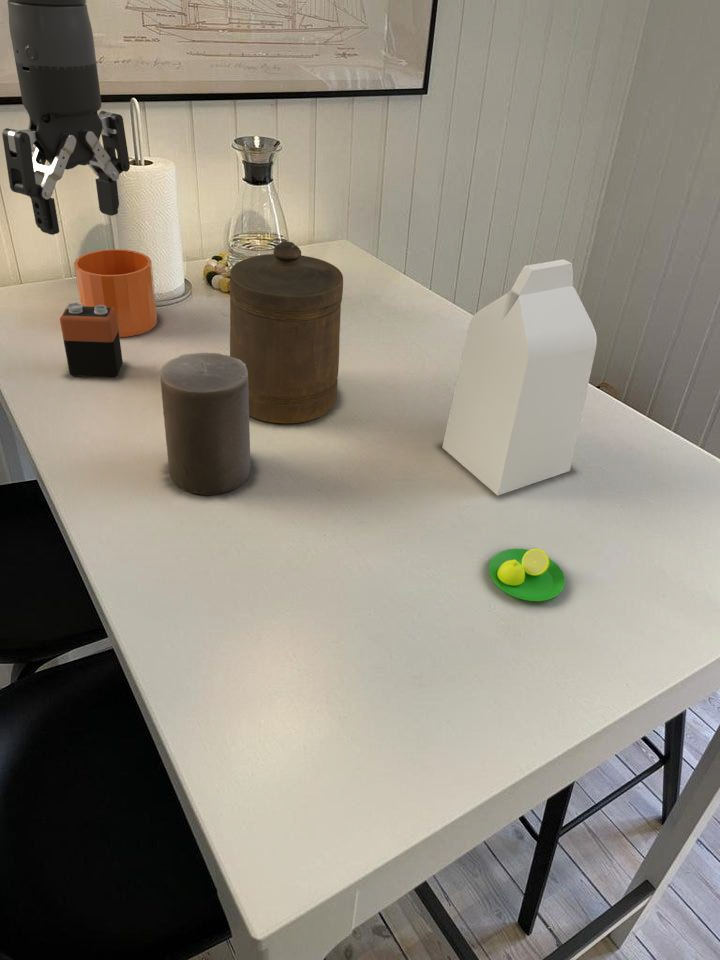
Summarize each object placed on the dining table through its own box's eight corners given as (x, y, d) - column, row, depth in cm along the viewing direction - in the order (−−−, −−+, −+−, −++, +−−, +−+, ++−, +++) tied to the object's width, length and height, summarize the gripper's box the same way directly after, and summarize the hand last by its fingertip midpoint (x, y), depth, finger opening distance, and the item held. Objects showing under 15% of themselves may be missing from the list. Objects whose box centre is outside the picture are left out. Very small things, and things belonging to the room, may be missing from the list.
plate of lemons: (519, 543, 84) (524, 523, 83) (578, 582, 80) (585, 563, 78) (472, 573, 80) (476, 553, 78) (532, 617, 75) (538, 597, 74)
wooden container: (354, 389, 110) (365, 240, 97) (302, 436, 99) (307, 274, 86) (268, 362, 115) (268, 217, 102) (210, 404, 104) (201, 246, 91)
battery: (76, 362, 111) (65, 298, 105) (123, 364, 111) (115, 300, 105) (69, 377, 107) (57, 311, 101) (117, 378, 108) (108, 313, 102)
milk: (497, 495, 91) (542, 291, 76) (442, 447, 99) (473, 253, 84) (569, 470, 97) (626, 275, 81) (512, 427, 104) (553, 241, 89)
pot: (68, 324, 120) (57, 263, 115) (120, 301, 129) (112, 244, 123) (121, 344, 116) (113, 282, 110) (171, 319, 124) (166, 260, 119)
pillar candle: (202, 506, 86) (194, 391, 77) (153, 468, 91) (140, 357, 82) (267, 473, 92) (267, 363, 83) (218, 440, 97) (212, 333, 88)
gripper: (83, 46, 80) (103, 201, 90) (-34, 57, 70) (3, 231, 79) (136, 56, 77) (151, 215, 87) (22, 69, 67) (53, 248, 77)
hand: (80, 223), depth 83 cm, fingers open, 8 cm apart
